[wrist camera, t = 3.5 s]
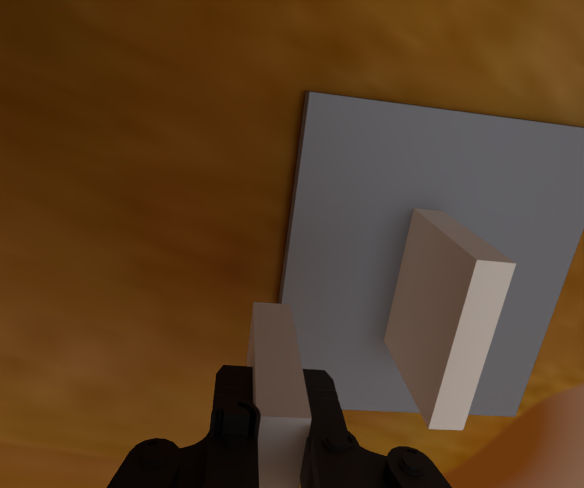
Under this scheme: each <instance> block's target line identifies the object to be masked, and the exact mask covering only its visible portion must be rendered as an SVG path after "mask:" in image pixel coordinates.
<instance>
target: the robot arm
mask: <svg viewBox="0 0 584 488" xmlns="http://www.w3.org/2000/svg"><path fill="white" fill-rule="evenodd" d="M300 483H301V488H452V487H451V486H450V484H449V483H448V482H447V481H446V479H445V478H444V477H443V475H442V474H441V473H440V471H439V470H438V469H437V467H436V466H435V465H434V463H433V462H432V461H431V460H430V459H429V458H428V457H427V456H426V455H425V454H424V453H422V452H420V451H418V450H417V449H414V448H410V447H402V446H399V447H396V448H393V449H391V451H390V452H389V453H388V455H387V456H384V455H380V454H377V453H374V452H371V451H368V450H366V449H364V448H362V447H361V446H359V443H358V442H357V440H356V438H355V436H353V435H352V434H351V433H350V432H349V431H347V427H346V424H345V420H344V417H343V413H342V409H341V406H340V402H339V401H338V395H337V392H336V388H335V384H334V381H333V379H332V378H331V377H330V375H329V374H328V373H327V372H326V371H325V370H316V369H302V364H301V358H300V353H299V347H298V342H297V337H296V331H295V326H294V321H293V315H292V310H291V305H289V304H276V303H263V302H253V310H252V319H251V328H250V336H249V345H248V353H247V366H231V365H223V366H222V367H221V369H220V370H219V371H218V372H217V374H216V381H215V391H214V400H213V409H212V413H211V423H210V430H209V433H208V434H207V436H206V437H205V438H204V439H202V440H201V441H200V442H198V443H196V444H194V445H191V446H188V447H184V448H179V447H178V446H177V445H176V444H175V443H174V442H171V441H169V440H166V439H159V438H154V439H149V440H145V441H143V442H141V443H139V444H137V445H136V446H135V447H134V448H133V449H132V450H131V451H130V452H129V454H128V455H127V457H126V458H125V460H124V461H123V463H122V464H121V466H120V468H119V469H118V471H117V472H116V474H115V475H114V477H113V478H112V480H111V481H110V483H109V485H108V486H107V488H299V486H300Z"/></svg>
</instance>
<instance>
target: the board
mask: <svg viewBox="0 0 584 488" xmlns="http://www.w3.org/2000/svg"><path fill="white" fill-rule="evenodd" d="M414 208H418V209H428V210H438V211H444V212H445V213H446V214H448V215H449V216H451V217H452V218H453V219H455V220H456V221H458V222H459V223H460V224H462V225H463V226H465V227H466V228H467V229H469V230H470V231H472V232H473V233H474V234H476V235H477V236H479V237H480V238H481V239H483V240H484V241H486V242H487V243H488V244H490V245H491V246H493V247H494V248H495V249H497V250H498V251H500V252H501V253H502V254H504V255H505V256H507V257H508V258H509V259H511V260H512V261H514V262H515V263H516V266H515V269H514V272H513V275H512V278H511V281H510V285H509V288H508V291H507V294H506V297H505V300H504V303H503V306H502V310H501V313H500V316H499V319H498V322H497V325H496V328H495V332H494V335H493V338H492V341H491V344H490V347H489V350H488V353H487V357H486V360H485V363H484V366H483V369H482V372H481V375H480V378H479V382H478V385H477V388H476V391H475V394H474V397H473V400H472V403H471V407H470V410H469V413H468V415H490V416H514V417H515V416H516V413H517V410H518V407H519V405H520V402H521V399H522V396H523V394H524V391H525V388H526V385H527V383H528V380H529V377H530V374H531V372H532V369H533V366H534V363H535V361H536V358H537V355H538V352H539V350H540V347H541V344H542V341H543V339H544V336H545V333H546V330H547V328H548V325H549V322H550V319H551V317H552V314H553V311H554V308H555V306H556V303H557V300H558V297H559V295H560V292H561V289H562V286H563V284H564V281H565V278H566V275H567V273H568V270H569V267H570V264H571V262H572V259H573V256H574V253H575V251H576V248H577V245H578V243H579V240H580V237H581V234H582V232H583V229H584V127H577V126H570V125H562V124H555V123H547V122H540V121H532V120H524V119H517V118H509V117H502V116H494V115H487V114H479V113H472V112H464V111H456V110H449V109H441V108H434V107H426V106H419V105H411V104H404V103H396V102H388V101H381V100H373V99H366V98H358V97H351V96H343V95H336V94H328V93H321V92H313V91H306V94H305V102H304V109H303V117H302V125H301V132H300V140H299V148H298V155H297V163H296V171H295V178H294V186H293V193H292V201H291V209H290V216H289V224H288V232H287V239H286V247H285V255H284V262H283V270H282V278H281V285H280V293H279V301H278V304H289V305H291V310H292V315H293V321H294V326H295V331H296V337H297V342H298V347H299V353H300V358H301V364H302V369H316V370H325V371H326V372H327V373H328V374H329V375H330V377H331V378H332V379H333V381H334V384H335V388H336V392H337V395H338V401H339V402H340V406H341V409H344V410H369V411H393V412H417V413H420V411H419V409H418V407H417V405H416V403H415V401H414V399H413V397H412V395H411V393H410V392H409V390H408V388H407V386H406V384H405V382H404V380H403V378H402V376H401V374H400V372H399V370H398V368H397V366H396V364H395V362H394V360H393V358H392V356H391V354H390V352H389V350H388V348H387V346H386V344H385V342H384V337H385V333H386V329H387V324H388V320H389V315H390V311H391V306H392V302H393V298H394V293H395V289H396V284H397V280H398V276H399V271H400V267H401V262H402V258H403V253H404V249H405V245H406V240H407V236H408V231H409V227H410V223H411V218H412V214H413V209H414Z"/></svg>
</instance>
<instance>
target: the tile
mask: <svg viewBox="0 0 584 488" xmlns="http://www.w3.org/2000/svg"><path fill="white" fill-rule="evenodd" d="M515 266H516V263H515V262H514V261H512V260H511V259H509V258H508V257H507V256H505V255H504V254H502V253H501V252H500V251H498V250H497V249H495V248H494V247H493V246H491V245H490V244H488V243H487V242H486V241H484V240H483V239H481V238H480V237H479V236H477V235H476V234H474V233H473V232H472V231H470V230H469V229H467V228H466V227H465V226H463V225H462V224H460V223H459V222H458V221H456V220H455V219H453V218H452V217H451V216H449V215H448V214H446V213H445V212H444V211H438V210H428V209H418V208H414V209H413V214H412V218H411V223H410V227H409V231H408V236H407V240H406V245H405V249H404V253H403V258H402V262H401V267H400V271H399V276H398V280H397V284H396V289H395V293H394V298H393V302H392V306H391V311H390V315H389V320H388V324H387V329H386V333H385V337H384V342H385V344H386V346H387V348H388V350H389V352H390V354H391V356H392V358H393V360H394V362H395V364H396V366H397V368H398V370H399V372H400V374H401V376H402V378H403V380H404V382H405V384H406V386H407V388H408V390H409V392H410V393H411V395H412V397H413V399H414V401H415V403H416V405H417V407H418V409H419V411H420V413H421V415H422V417H423V419H424V421H425V423H426V425H427V427H428V429H444V430H463V428H464V425H465V422H466V419H467V416H468V413H469V410H470V407H471V403H472V400H473V397H474V394H475V391H476V388H477V385H478V382H479V378H480V375H481V372H482V369H483V366H484V363H485V360H486V357H487V353H488V350H489V347H490V344H491V341H492V338H493V335H494V332H495V328H496V325H497V322H498V319H499V316H500V313H501V310H502V306H503V303H504V300H505V297H506V294H507V291H508V288H509V285H510V281H511V278H512V275H513V272H514V269H515Z"/></svg>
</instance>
